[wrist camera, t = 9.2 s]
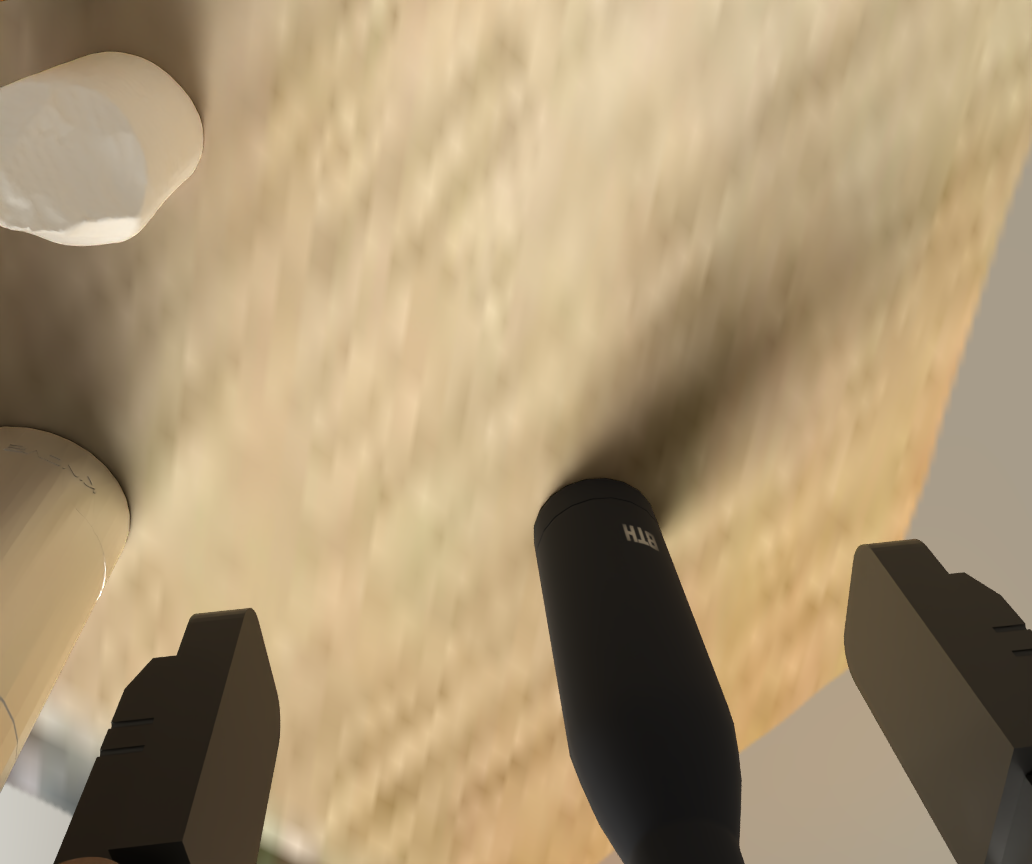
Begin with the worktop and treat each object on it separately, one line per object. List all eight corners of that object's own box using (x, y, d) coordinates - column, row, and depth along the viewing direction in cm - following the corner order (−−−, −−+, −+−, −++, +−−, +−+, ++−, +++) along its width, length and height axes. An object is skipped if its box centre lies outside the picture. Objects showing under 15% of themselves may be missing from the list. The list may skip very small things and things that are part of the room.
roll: (150, 183, 27) (68, 333, 29) (229, 112, 37) (165, 225, 39) (-61, 53, 25) (-134, 224, 27) (85, 17, 35) (26, 141, 37)
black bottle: (544, 589, 50) (670, 1322, 24) (522, 491, 47) (640, 1206, 21) (661, 566, 50) (919, 1276, 23) (647, 465, 47) (927, 1151, 20)
